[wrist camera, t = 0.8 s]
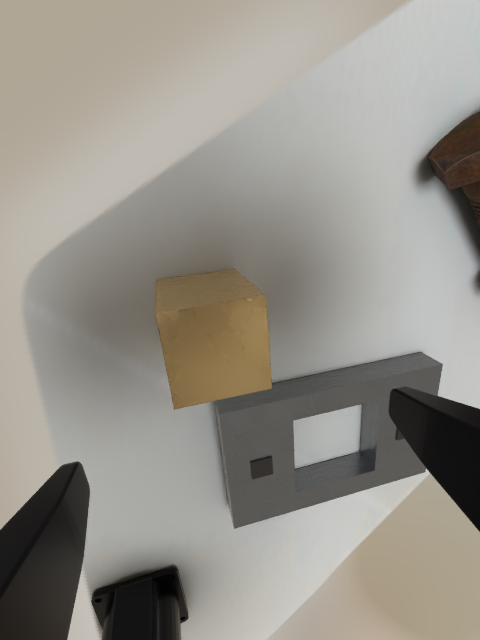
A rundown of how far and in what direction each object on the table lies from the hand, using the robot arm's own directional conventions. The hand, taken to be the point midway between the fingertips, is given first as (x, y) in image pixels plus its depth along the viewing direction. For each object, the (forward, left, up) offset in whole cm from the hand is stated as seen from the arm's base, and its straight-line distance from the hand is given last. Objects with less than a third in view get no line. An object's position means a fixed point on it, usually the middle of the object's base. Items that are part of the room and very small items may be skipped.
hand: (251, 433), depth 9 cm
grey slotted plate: (-11, -8, -11) cm, 17 cm away
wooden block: (0, 0, -11) cm, 11 cm away
